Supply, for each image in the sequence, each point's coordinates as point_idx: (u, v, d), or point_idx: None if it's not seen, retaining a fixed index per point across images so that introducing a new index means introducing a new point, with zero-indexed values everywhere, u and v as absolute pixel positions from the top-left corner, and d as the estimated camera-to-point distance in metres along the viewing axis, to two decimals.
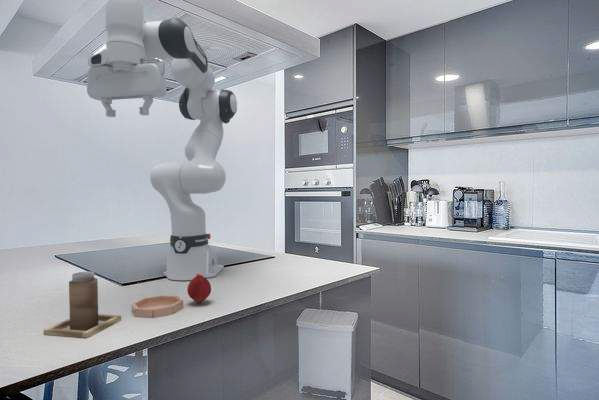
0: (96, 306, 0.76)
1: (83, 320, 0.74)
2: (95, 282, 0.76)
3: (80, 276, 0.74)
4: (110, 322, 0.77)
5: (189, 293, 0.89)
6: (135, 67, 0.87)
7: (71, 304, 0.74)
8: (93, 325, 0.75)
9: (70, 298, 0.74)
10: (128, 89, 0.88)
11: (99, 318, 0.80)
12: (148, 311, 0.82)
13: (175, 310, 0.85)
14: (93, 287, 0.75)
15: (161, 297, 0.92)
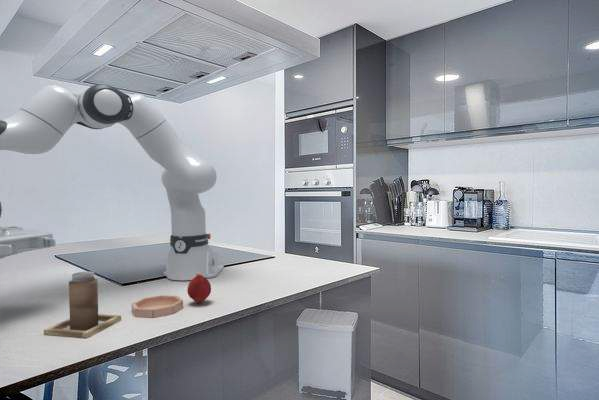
0: (96, 306, 0.76)
1: (83, 320, 0.74)
2: (95, 282, 0.76)
3: (80, 276, 0.74)
4: (110, 322, 0.77)
5: (189, 293, 0.89)
6: None
7: (71, 304, 0.74)
8: (93, 325, 0.75)
9: (70, 298, 0.74)
10: None
11: (99, 318, 0.80)
12: (148, 311, 0.82)
13: (175, 310, 0.85)
14: (93, 287, 0.75)
15: (161, 297, 0.92)
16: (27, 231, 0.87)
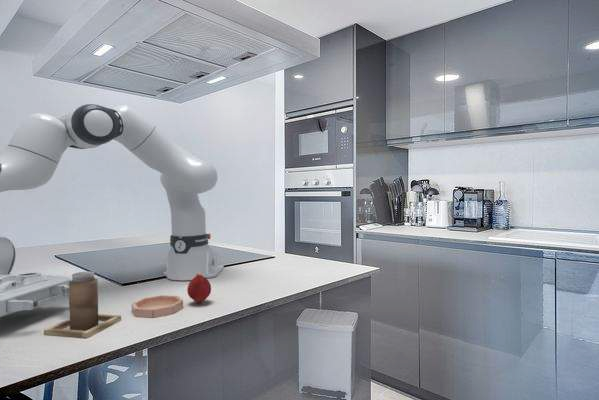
0: (96, 306, 0.76)
1: (83, 320, 0.74)
2: (95, 282, 0.76)
3: (80, 276, 0.74)
4: (110, 322, 0.77)
5: (189, 293, 0.89)
6: None
7: (71, 304, 0.74)
8: (93, 325, 0.75)
9: (70, 298, 0.74)
10: None
11: (99, 318, 0.80)
12: (148, 311, 0.82)
13: (175, 310, 0.85)
14: (93, 287, 0.75)
15: (161, 297, 0.92)
16: (45, 277, 0.87)
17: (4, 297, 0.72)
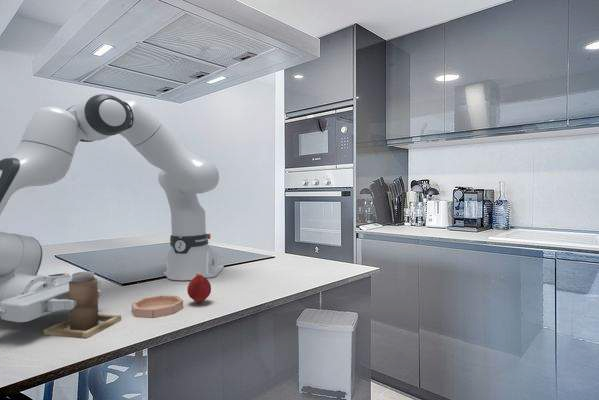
0: (96, 306, 0.76)
1: (83, 319, 0.74)
2: (95, 282, 0.76)
3: (80, 276, 0.74)
4: (110, 322, 0.77)
5: (189, 293, 0.89)
6: None
7: None
8: (93, 325, 0.75)
9: None
10: None
11: (99, 318, 0.80)
12: (148, 311, 0.82)
13: (175, 310, 0.85)
14: (93, 287, 0.75)
15: (161, 297, 0.92)
16: None
17: (38, 298, 0.70)
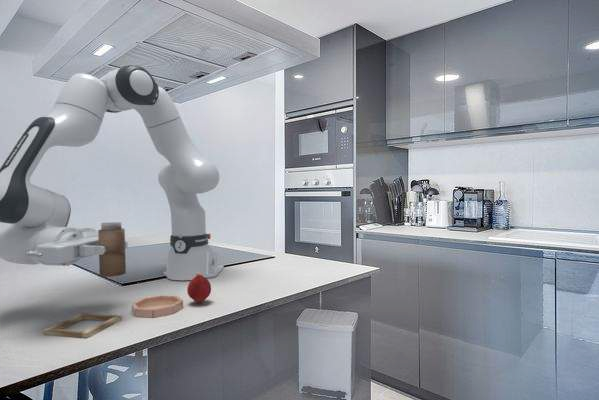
0: (124, 254, 0.80)
1: (112, 265, 0.78)
2: (123, 231, 0.80)
3: (109, 224, 0.78)
4: (110, 322, 0.77)
5: (189, 293, 0.89)
6: None
7: None
8: (121, 271, 0.79)
9: None
10: None
11: (99, 318, 0.80)
12: (148, 311, 0.82)
13: (175, 310, 0.85)
14: (121, 235, 0.79)
15: (161, 297, 0.92)
16: None
17: (71, 243, 0.74)
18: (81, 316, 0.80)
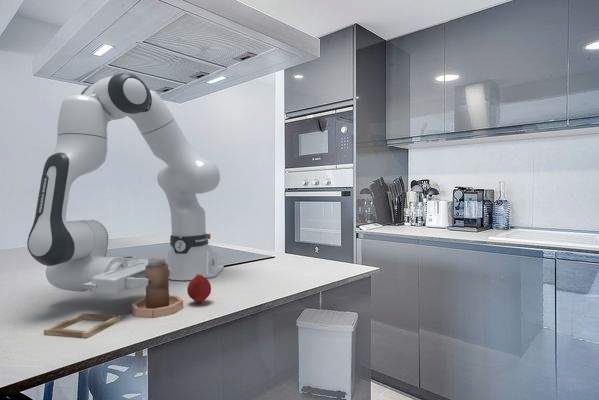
0: (168, 288, 0.87)
1: (158, 299, 0.85)
2: (167, 267, 0.87)
3: (156, 261, 0.85)
4: (110, 322, 0.77)
5: (189, 293, 0.89)
6: None
7: (148, 285, 0.85)
8: (166, 304, 0.86)
9: None
10: None
11: (99, 318, 0.80)
12: (148, 311, 0.82)
13: (175, 310, 0.85)
14: (166, 271, 0.86)
15: None
16: (142, 260, 0.96)
17: (123, 275, 0.81)
18: (81, 316, 0.80)
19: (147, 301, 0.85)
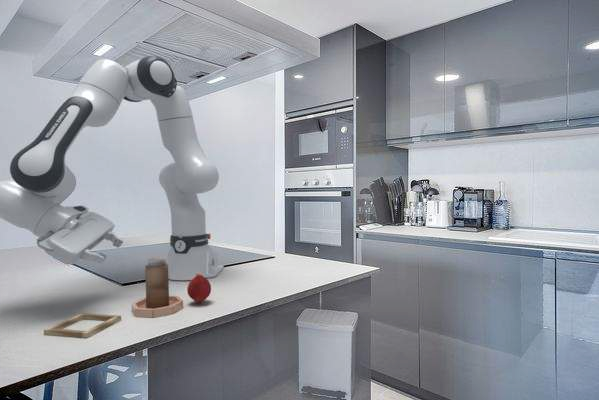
0: (168, 288, 0.87)
1: (158, 299, 0.85)
2: (167, 267, 0.87)
3: (155, 261, 0.85)
4: (110, 322, 0.77)
5: (189, 293, 0.89)
6: None
7: (148, 285, 0.85)
8: (166, 304, 0.86)
9: (147, 280, 0.85)
10: None
11: (99, 318, 0.80)
12: (148, 311, 0.82)
13: (175, 310, 0.85)
14: (166, 271, 0.86)
15: None
16: (93, 215, 0.95)
17: (81, 246, 0.83)
18: (81, 316, 0.80)
19: (147, 301, 0.85)
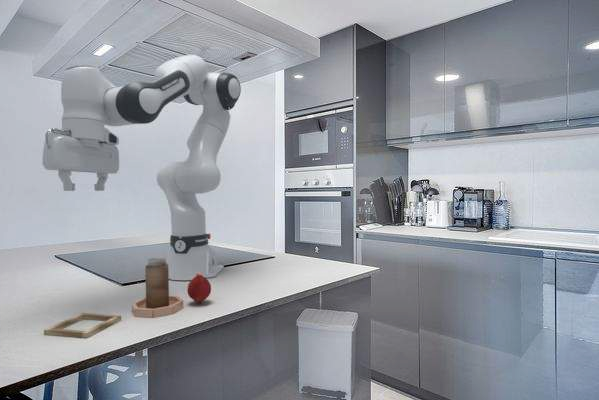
0: (168, 288, 0.87)
1: (158, 299, 0.85)
2: (167, 267, 0.87)
3: (156, 261, 0.85)
4: (110, 322, 0.77)
5: (189, 293, 0.89)
6: None
7: (148, 285, 0.85)
8: (166, 304, 0.86)
9: (147, 280, 0.85)
10: None
11: (99, 318, 0.80)
12: (148, 311, 0.82)
13: (175, 310, 0.85)
14: (166, 271, 0.86)
15: None
16: (114, 151, 0.94)
17: (69, 167, 0.80)
18: (81, 316, 0.80)
19: (147, 301, 0.85)
